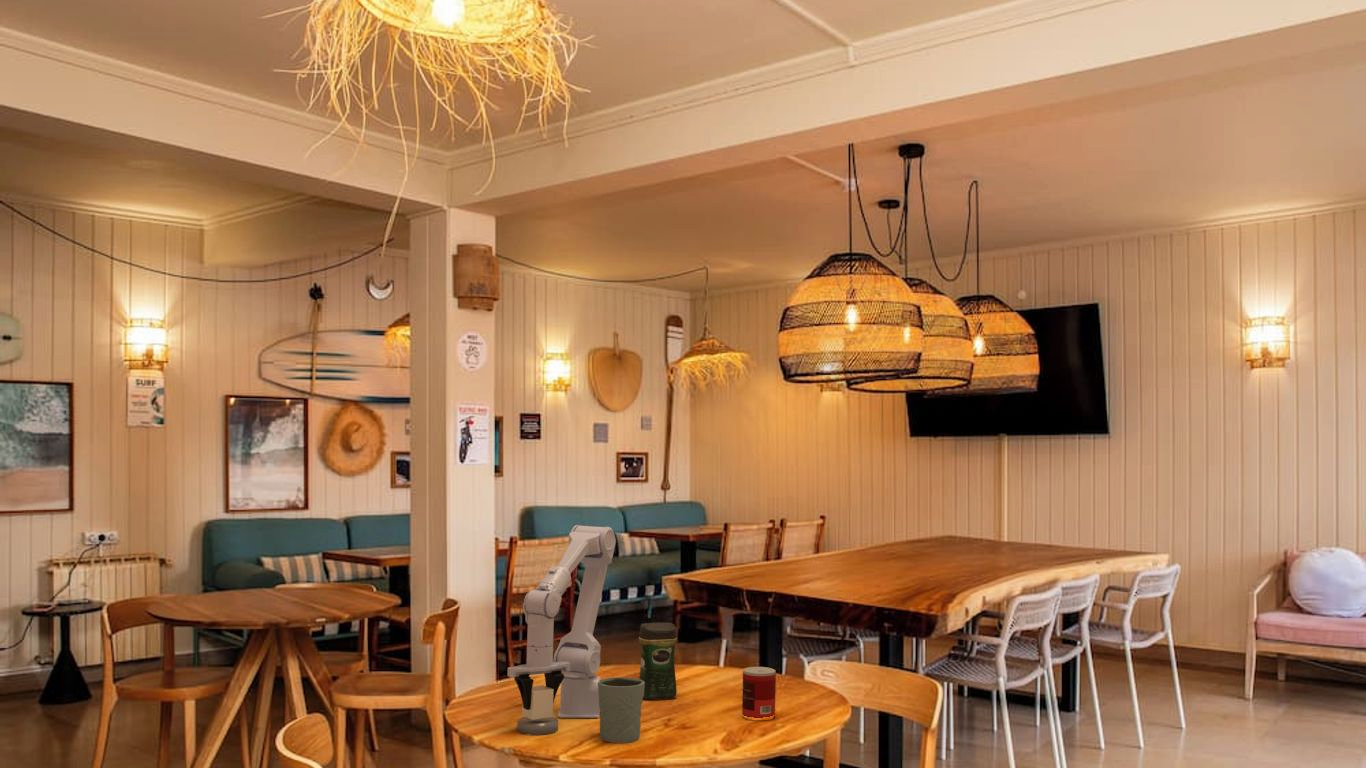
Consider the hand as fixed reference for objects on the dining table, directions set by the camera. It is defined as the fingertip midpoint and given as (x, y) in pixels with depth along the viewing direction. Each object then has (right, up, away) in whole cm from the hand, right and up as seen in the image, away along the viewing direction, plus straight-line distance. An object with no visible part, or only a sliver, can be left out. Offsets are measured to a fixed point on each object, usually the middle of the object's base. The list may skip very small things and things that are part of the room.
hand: (538, 707), depth 235 cm
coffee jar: (+25, -8, +34) cm, 43 cm away
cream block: (0, -2, 0) cm, 2 cm away
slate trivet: (0, -5, 0) cm, 5 cm away
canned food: (+50, -7, +15) cm, 53 cm away
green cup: (+18, -5, -5) cm, 20 cm away
